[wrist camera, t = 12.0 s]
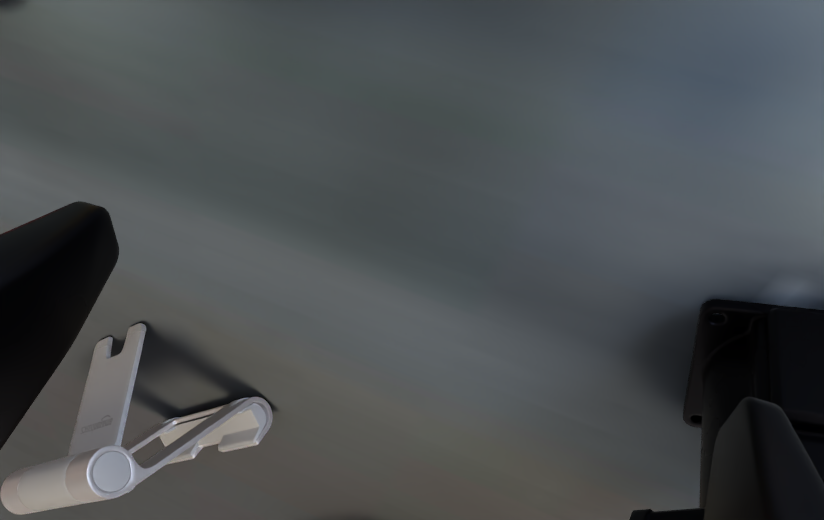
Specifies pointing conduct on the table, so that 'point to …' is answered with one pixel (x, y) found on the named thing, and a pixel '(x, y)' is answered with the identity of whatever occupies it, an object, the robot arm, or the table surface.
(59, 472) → the tablet stand
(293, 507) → the table surface
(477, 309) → the table surface
